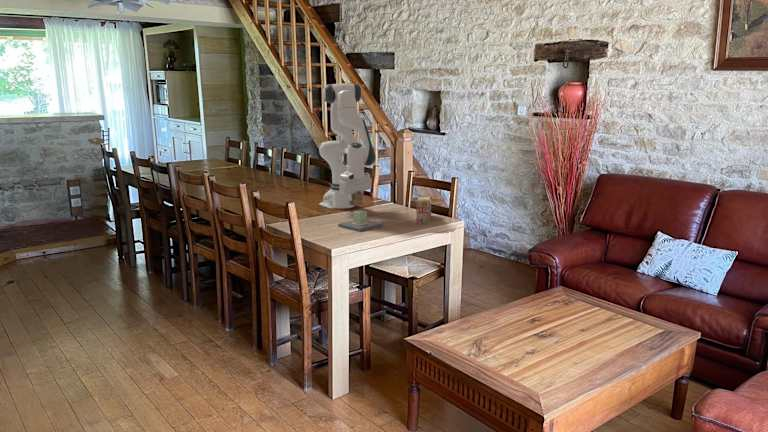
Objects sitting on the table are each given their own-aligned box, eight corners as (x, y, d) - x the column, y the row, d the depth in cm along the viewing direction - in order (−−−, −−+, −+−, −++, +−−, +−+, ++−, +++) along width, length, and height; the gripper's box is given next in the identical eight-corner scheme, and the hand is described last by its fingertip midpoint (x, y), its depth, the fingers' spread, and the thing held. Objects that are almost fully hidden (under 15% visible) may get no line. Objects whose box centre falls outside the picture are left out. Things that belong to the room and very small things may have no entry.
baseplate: (338, 226, 314) (338, 223, 313) (361, 221, 325) (361, 218, 324) (359, 231, 303) (359, 228, 302) (382, 226, 314) (382, 222, 313)
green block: (353, 223, 313) (353, 211, 312) (360, 221, 317) (360, 210, 316) (360, 224, 310) (359, 212, 309) (367, 223, 313) (367, 211, 312)
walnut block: (349, 204, 329) (349, 193, 328) (356, 203, 333) (356, 192, 331) (355, 206, 326) (355, 194, 324) (362, 204, 329) (362, 193, 328)
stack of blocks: (419, 215, 339) (420, 193, 336) (431, 215, 338) (431, 193, 336) (416, 224, 318) (416, 200, 316) (428, 224, 318) (428, 201, 315)
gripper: (365, 171, 335) (366, 195, 338) (337, 175, 321) (337, 201, 324) (373, 172, 330) (373, 197, 334) (345, 177, 316) (345, 203, 320)
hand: (355, 199), depth 329 cm, fingers closed on walnut block, 5 cm apart
